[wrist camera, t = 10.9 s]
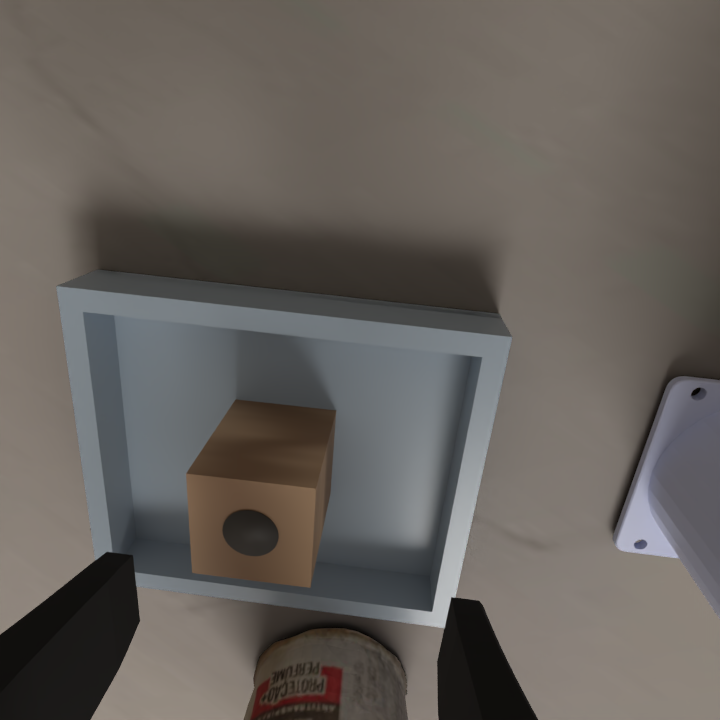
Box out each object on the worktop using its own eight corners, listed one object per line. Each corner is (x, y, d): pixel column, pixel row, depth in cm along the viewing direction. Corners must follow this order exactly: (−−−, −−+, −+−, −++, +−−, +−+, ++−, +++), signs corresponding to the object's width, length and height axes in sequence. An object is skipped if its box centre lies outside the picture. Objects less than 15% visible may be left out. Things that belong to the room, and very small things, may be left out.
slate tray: (499, 313, 19) (512, 337, 16) (444, 581, 24) (448, 628, 22) (97, 269, 19) (56, 286, 17) (127, 540, 24) (98, 581, 22)
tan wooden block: (336, 410, 20) (316, 489, 16) (330, 494, 22) (310, 588, 17) (235, 399, 20) (185, 474, 16) (236, 483, 22) (191, 574, 17)
